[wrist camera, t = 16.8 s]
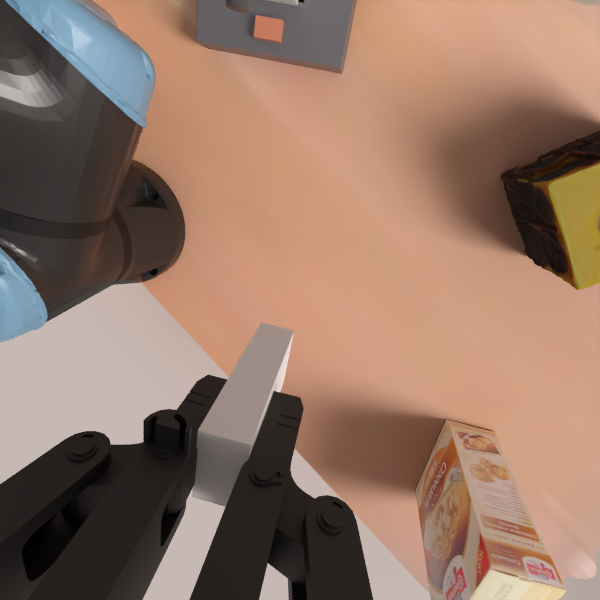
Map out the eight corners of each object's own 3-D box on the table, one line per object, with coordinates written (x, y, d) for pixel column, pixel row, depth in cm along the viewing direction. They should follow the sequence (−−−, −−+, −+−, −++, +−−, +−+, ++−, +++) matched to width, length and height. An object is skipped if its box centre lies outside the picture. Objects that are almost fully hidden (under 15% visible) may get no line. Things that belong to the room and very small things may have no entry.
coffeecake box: (445, 418, 50) (489, 568, 32) (497, 430, 49) (572, 591, 31) (412, 490, 56) (434, 651, 38) (458, 503, 55) (503, 671, 38)
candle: (498, 173, 37) (541, 182, 28) (611, 122, 34) (701, 114, 25) (525, 260, 40) (573, 294, 31) (631, 221, 37) (719, 245, 28)
